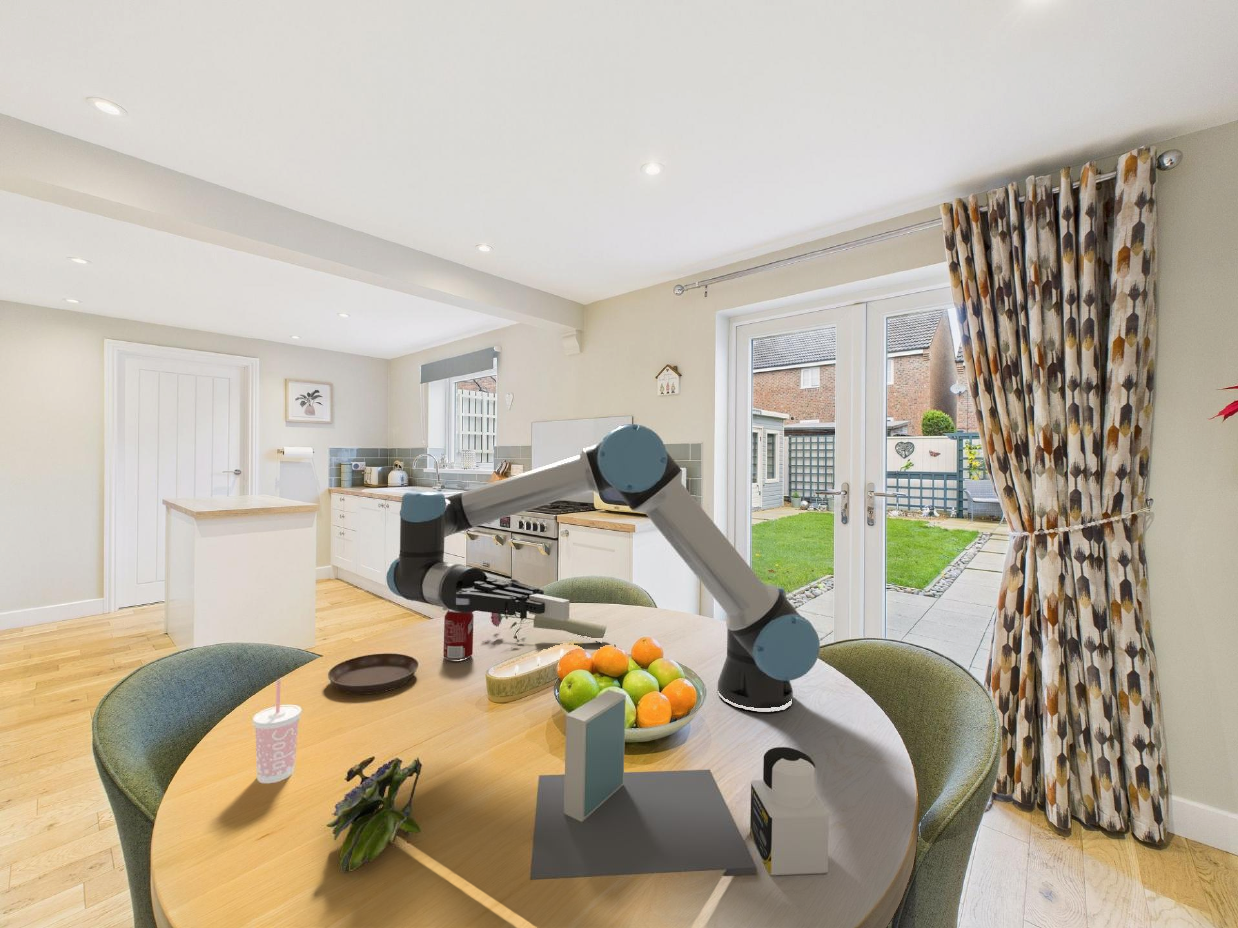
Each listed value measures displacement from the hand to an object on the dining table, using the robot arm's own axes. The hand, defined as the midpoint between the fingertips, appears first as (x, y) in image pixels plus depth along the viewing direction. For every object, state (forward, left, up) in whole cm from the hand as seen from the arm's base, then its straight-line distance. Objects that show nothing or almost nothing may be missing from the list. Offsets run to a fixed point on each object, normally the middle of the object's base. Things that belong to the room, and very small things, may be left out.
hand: (565, 610), depth 77 cm
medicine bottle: (-28, +14, -26) cm, 41 cm away
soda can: (+25, -55, -26) cm, 66 cm away
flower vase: (+6, -67, -26) cm, 73 cm away
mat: (-10, +7, -26) cm, 29 cm away
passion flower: (+22, +8, -26) cm, 35 cm away
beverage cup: (+42, -7, -26) cm, 50 cm away
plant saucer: (+40, -42, -26) cm, 64 cm away
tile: (-5, +3, -25) cm, 26 cm away
